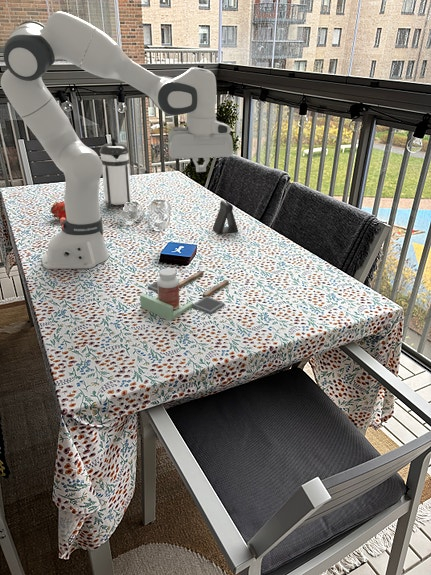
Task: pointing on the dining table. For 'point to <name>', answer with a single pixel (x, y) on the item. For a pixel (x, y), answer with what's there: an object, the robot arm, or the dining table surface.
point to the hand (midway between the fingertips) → (200, 171)
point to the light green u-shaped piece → (161, 307)
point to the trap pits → (199, 302)
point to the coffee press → (116, 173)
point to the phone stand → (221, 219)
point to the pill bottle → (168, 287)
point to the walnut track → (208, 290)
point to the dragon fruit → (58, 210)
